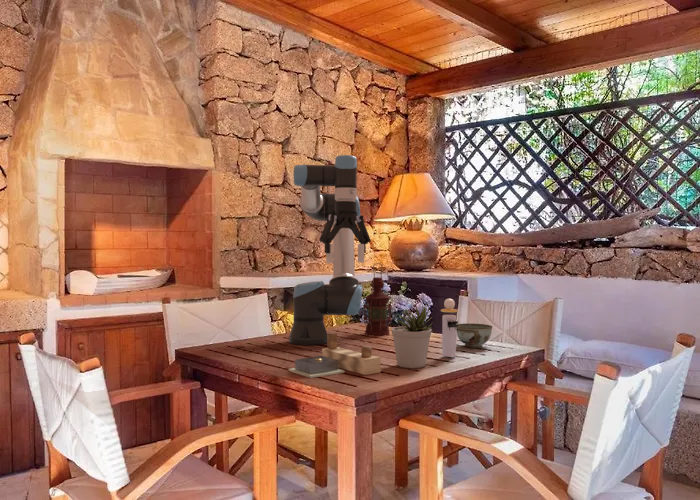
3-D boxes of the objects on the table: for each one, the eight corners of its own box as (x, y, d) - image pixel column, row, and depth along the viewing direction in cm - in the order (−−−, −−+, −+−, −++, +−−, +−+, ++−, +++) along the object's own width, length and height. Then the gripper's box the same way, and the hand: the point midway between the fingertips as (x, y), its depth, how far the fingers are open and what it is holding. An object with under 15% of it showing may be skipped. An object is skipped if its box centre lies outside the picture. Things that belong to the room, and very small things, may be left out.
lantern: (382, 337, 248) (382, 264, 248) (357, 334, 255) (357, 263, 255) (396, 333, 259) (397, 263, 258) (372, 331, 265) (372, 262, 265)
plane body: (321, 362, 195) (321, 333, 195) (336, 360, 199) (336, 331, 199) (365, 374, 178) (365, 342, 178) (380, 372, 182) (380, 340, 181)
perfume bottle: (437, 356, 207) (437, 298, 206) (450, 355, 209) (451, 297, 209) (447, 359, 202) (447, 299, 201) (461, 358, 204) (461, 298, 204)
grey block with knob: (295, 369, 182) (295, 358, 182) (322, 365, 188) (322, 354, 188) (310, 374, 176) (310, 362, 176) (337, 369, 182) (337, 358, 182)
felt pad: (288, 370, 183) (288, 368, 183) (321, 366, 190) (321, 364, 190) (311, 378, 173) (311, 375, 173) (344, 372, 181) (344, 370, 181)
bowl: (477, 351, 217) (477, 329, 217) (447, 346, 227) (447, 325, 227) (499, 347, 226) (499, 325, 226) (470, 342, 236) (470, 322, 236)
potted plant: (405, 372, 182) (405, 305, 182) (384, 363, 195) (384, 301, 194) (441, 368, 187) (441, 303, 187) (418, 360, 200) (418, 299, 199)
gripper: (322, 198, 197) (322, 263, 198) (380, 202, 213) (380, 262, 213) (309, 199, 203) (309, 263, 203) (367, 203, 218) (366, 262, 219)
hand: (345, 263), depth 208 cm, fingers open, 13 cm apart
